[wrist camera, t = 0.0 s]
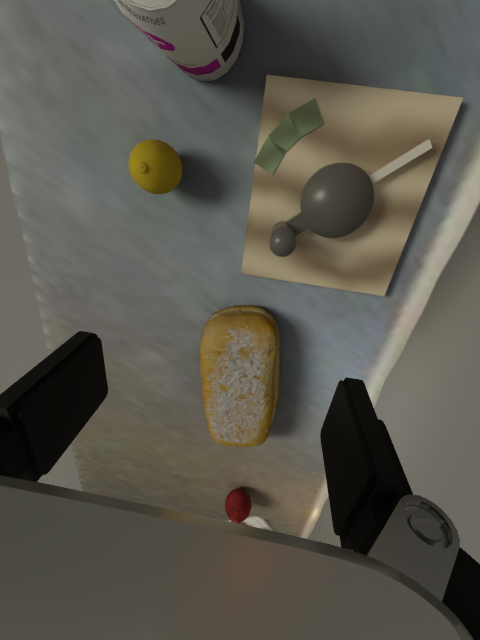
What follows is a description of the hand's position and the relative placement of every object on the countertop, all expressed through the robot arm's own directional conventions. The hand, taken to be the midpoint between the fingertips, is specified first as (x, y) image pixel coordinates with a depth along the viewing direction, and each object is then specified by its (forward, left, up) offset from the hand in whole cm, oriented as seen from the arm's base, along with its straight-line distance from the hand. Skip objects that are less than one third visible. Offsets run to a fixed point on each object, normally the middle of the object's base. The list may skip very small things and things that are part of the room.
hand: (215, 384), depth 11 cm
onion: (+58, +4, -31) cm, 66 cm away
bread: (+24, 0, -32) cm, 40 cm away
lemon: (-6, -13, -31) cm, 35 cm away
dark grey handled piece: (-6, +9, -29) cm, 31 cm away
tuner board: (-5, +8, -31) cm, 33 cm away
